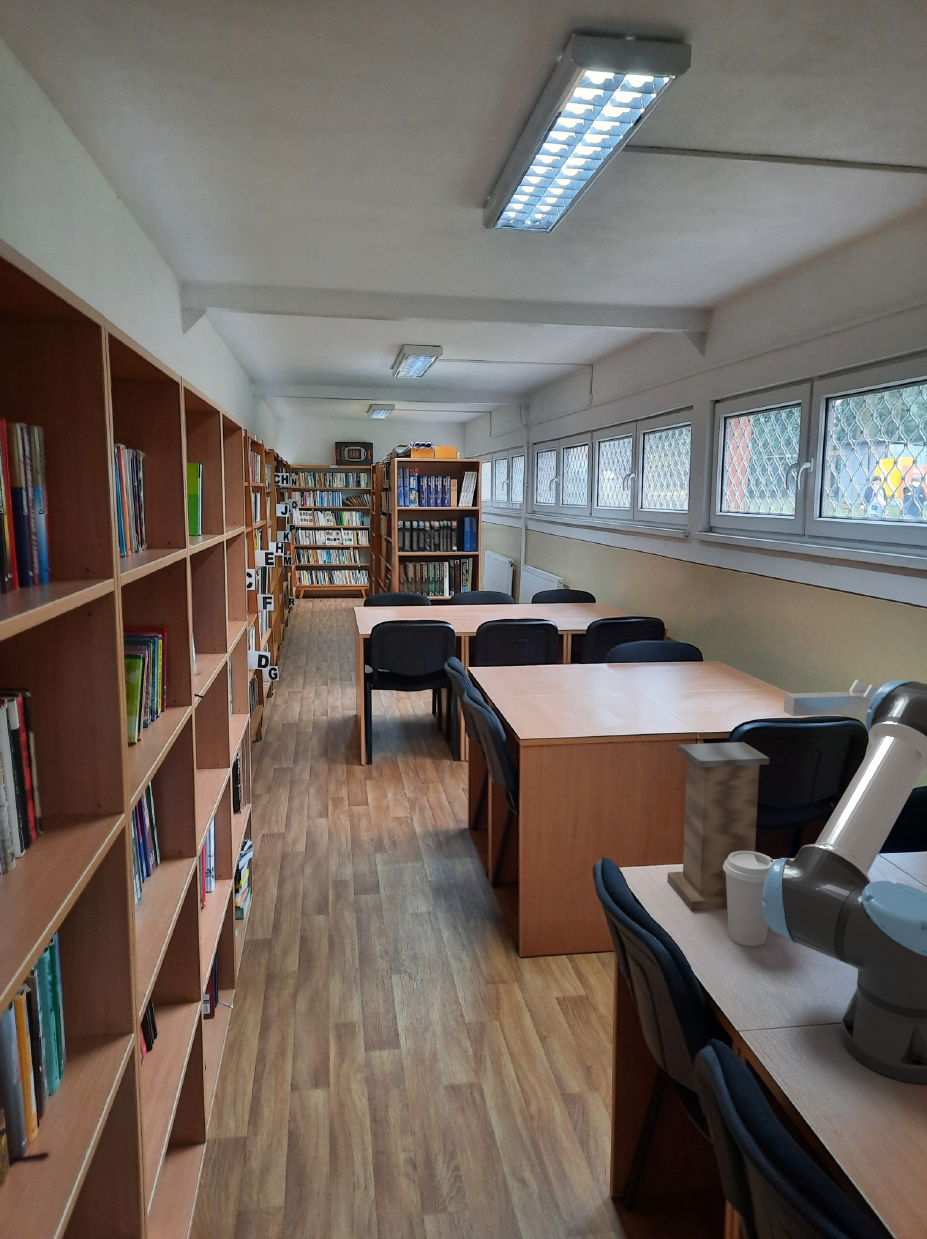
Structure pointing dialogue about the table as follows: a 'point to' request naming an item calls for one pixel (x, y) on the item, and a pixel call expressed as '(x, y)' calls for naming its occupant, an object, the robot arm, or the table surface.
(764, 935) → the coffee cup
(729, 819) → the post
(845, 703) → the wood grain block
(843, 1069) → the table surface
